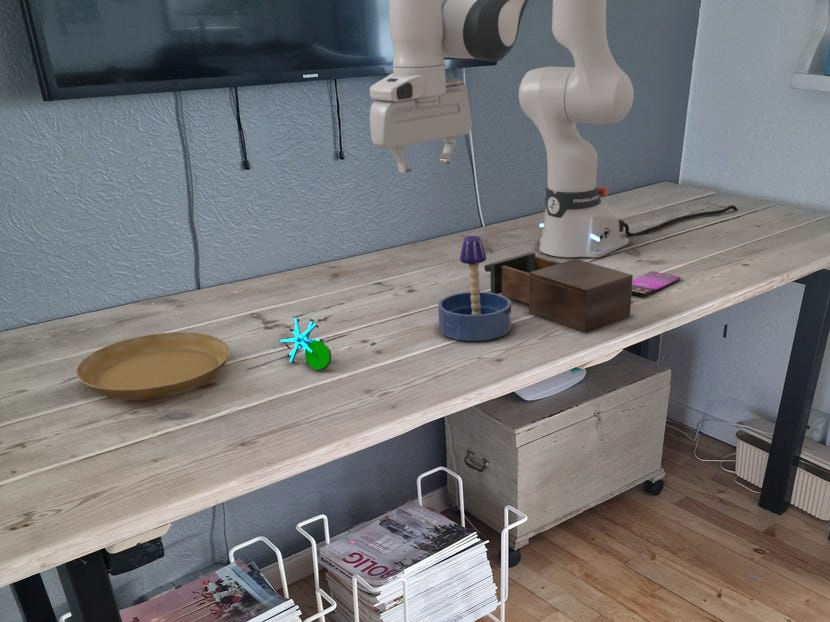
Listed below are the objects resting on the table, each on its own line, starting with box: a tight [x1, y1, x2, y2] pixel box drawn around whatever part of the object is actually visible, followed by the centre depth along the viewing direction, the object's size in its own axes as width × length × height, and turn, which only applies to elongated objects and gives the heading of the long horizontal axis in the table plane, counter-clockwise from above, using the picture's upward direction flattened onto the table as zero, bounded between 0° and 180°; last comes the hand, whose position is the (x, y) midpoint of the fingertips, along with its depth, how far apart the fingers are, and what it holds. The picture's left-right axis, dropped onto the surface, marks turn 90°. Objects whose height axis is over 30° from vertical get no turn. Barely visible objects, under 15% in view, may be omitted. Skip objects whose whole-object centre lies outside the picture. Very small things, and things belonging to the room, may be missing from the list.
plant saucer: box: [75, 331, 230, 401], centre depth 145 cm, size 24×24×3 cm
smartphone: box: [631, 270, 681, 297], centre depth 182 cm, size 7×15×1 cm, turn 140°
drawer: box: [484, 251, 561, 305], centre depth 175 cm, size 18×11×6 cm, turn 41°
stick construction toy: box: [280, 317, 332, 371], centre depth 150 cm, size 12×7×8 cm
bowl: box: [437, 291, 512, 342], centre depth 161 cm, size 13×13×5 cm
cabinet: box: [528, 258, 634, 334], centre depth 166 cm, size 15×13×8 cm
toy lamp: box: [459, 235, 487, 315], centre depth 158 cm, size 5×5×17 cm
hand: (425, 167), depth 157 cm, fingers open, 8 cm apart
